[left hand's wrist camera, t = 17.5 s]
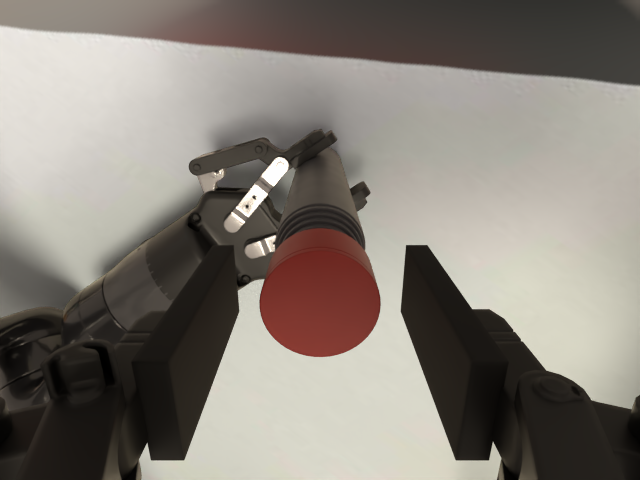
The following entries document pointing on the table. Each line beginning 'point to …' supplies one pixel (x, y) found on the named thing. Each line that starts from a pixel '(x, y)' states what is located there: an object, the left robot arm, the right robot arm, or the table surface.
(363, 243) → the bottle
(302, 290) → the cap
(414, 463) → the table surface
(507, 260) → the table surface
